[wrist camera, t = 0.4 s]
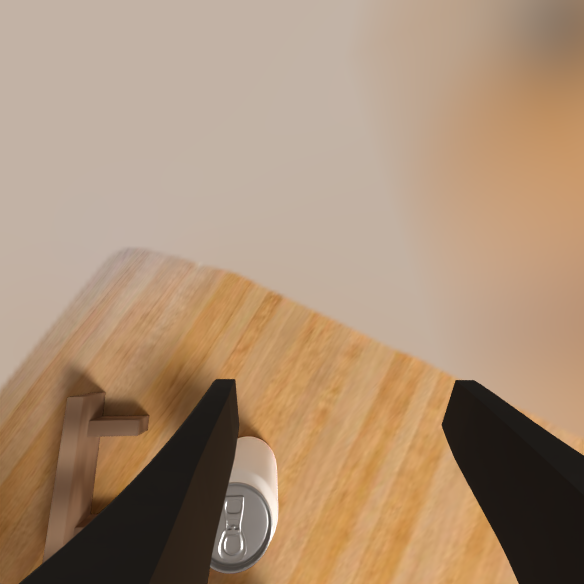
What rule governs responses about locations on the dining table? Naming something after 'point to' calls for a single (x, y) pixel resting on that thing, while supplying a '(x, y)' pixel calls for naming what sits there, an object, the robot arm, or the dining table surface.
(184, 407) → the dining table surface
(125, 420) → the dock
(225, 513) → the can
